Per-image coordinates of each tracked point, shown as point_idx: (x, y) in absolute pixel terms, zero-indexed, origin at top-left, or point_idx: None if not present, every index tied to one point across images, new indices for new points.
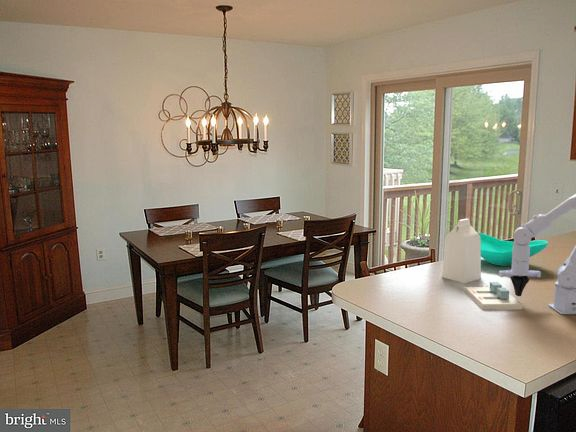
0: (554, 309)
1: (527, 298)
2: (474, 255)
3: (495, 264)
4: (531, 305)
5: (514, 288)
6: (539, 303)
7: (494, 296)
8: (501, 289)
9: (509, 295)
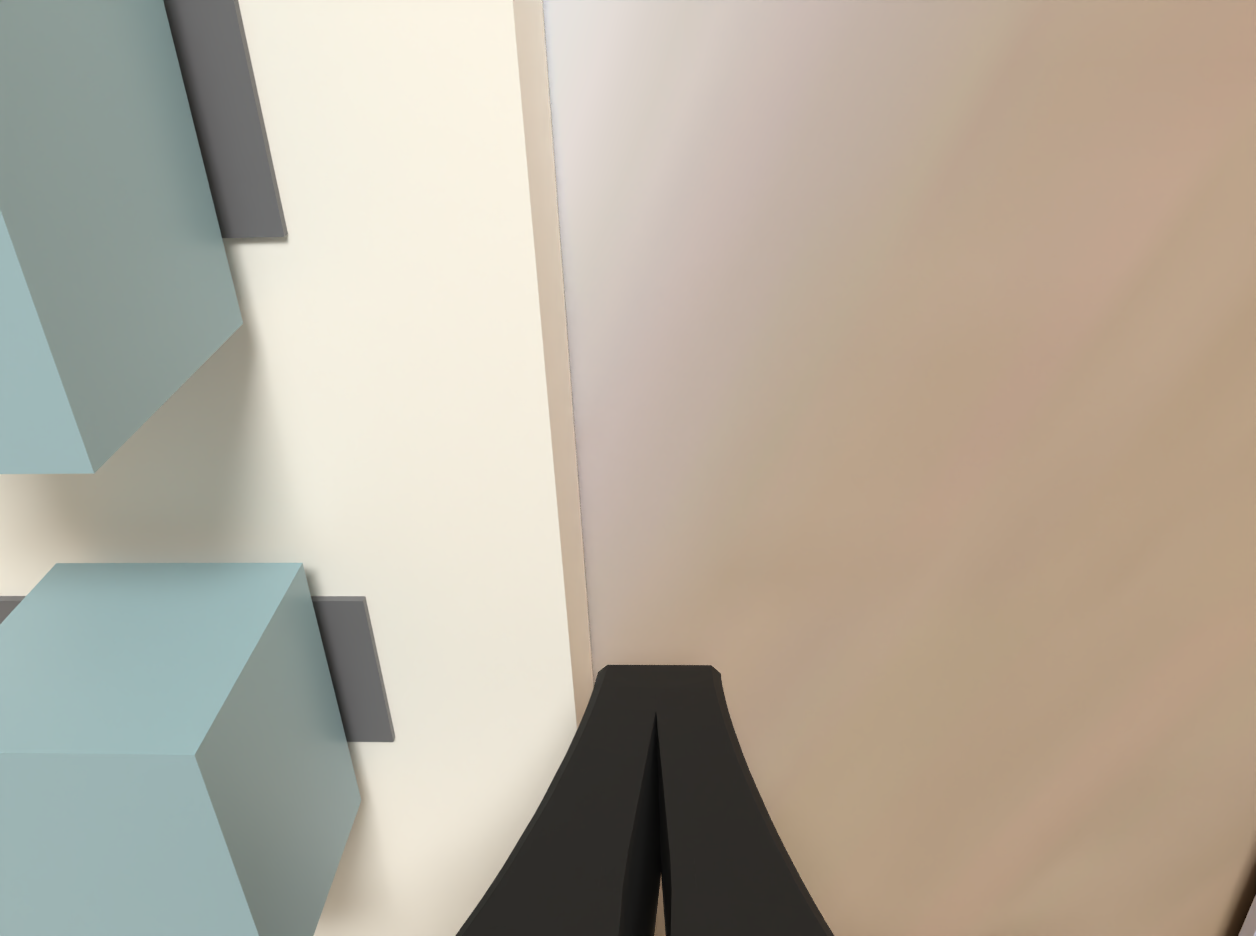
0: (1242, 926)
1: (1188, 190)
2: None
3: None
4: (929, 698)
5: (547, 814)
6: (1227, 587)
7: (17, 553)
8: (45, 902)
9: (490, 474)
